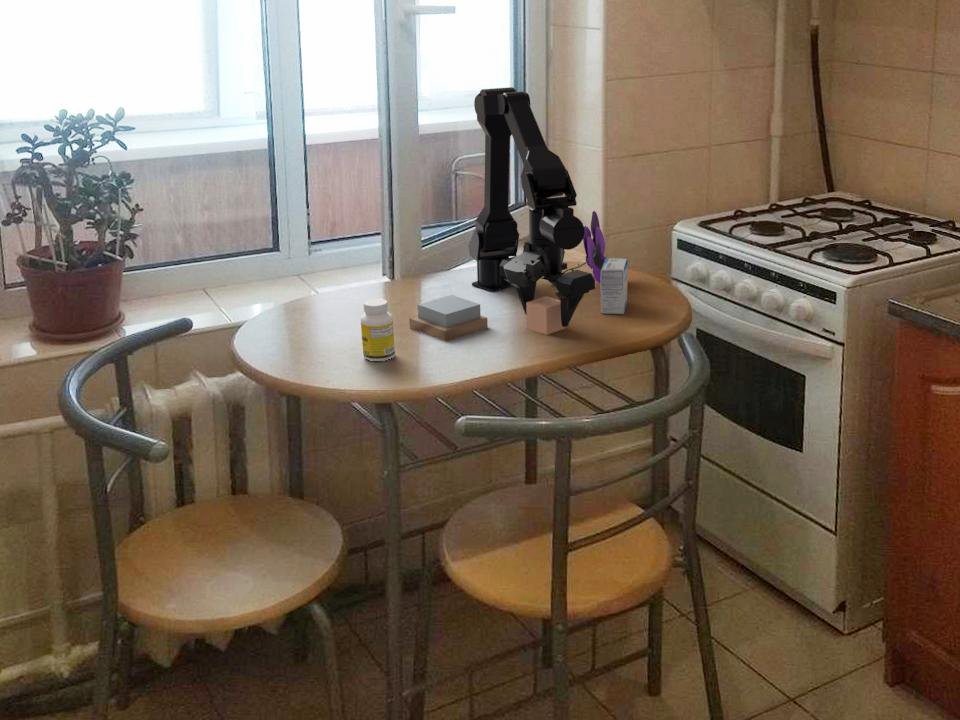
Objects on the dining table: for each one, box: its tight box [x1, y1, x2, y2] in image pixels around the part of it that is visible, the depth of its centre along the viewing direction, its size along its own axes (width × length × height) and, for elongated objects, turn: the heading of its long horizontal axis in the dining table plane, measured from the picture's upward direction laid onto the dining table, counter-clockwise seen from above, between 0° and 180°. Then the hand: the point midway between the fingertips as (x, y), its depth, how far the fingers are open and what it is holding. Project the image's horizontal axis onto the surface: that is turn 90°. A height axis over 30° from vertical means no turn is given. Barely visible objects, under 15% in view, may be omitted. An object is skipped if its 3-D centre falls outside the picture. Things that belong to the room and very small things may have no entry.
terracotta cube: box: [526, 295, 567, 336], centre depth 200 cm, size 5×5×5 cm
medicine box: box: [600, 257, 629, 315], centre depth 209 cm, size 8×4×9 cm, turn 168°
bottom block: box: [409, 314, 489, 342], centre depth 202 cm, size 10×10×2 cm
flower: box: [548, 210, 608, 286], centre depth 222 cm, size 15×15×14 cm
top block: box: [417, 294, 481, 328], centre depth 201 cm, size 8×8×2 cm
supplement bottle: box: [360, 298, 396, 362], centre depth 187 cm, size 5×5×10 cm
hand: (546, 320), depth 200 cm, fingers open, 9 cm apart
